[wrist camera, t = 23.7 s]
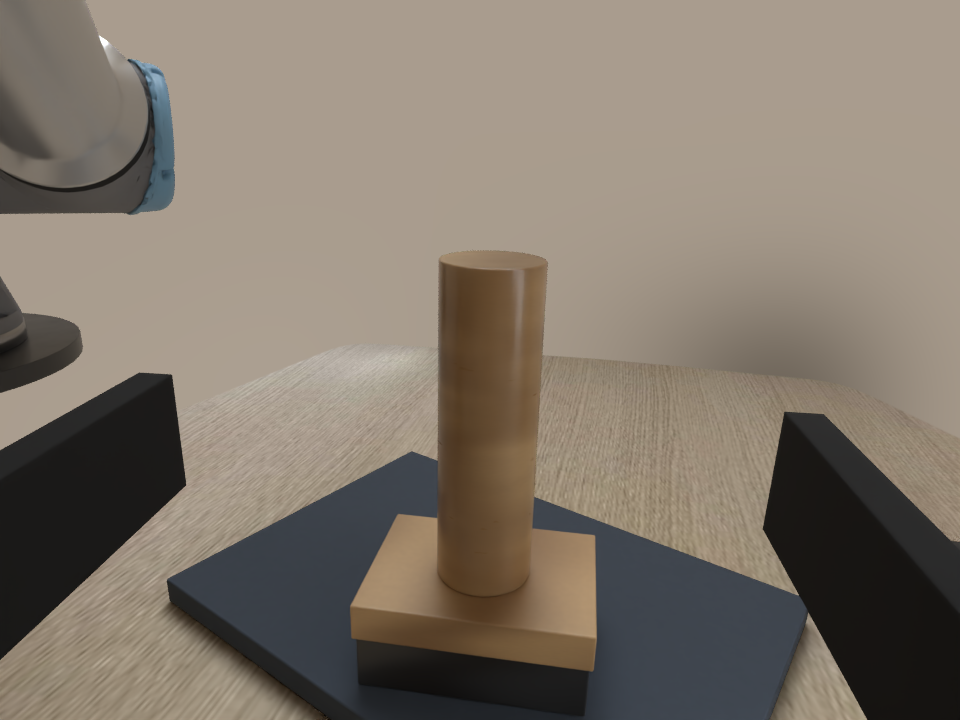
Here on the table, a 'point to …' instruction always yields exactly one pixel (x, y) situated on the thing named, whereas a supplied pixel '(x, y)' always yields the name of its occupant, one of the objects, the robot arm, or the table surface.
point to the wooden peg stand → (483, 521)
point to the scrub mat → (417, 716)
